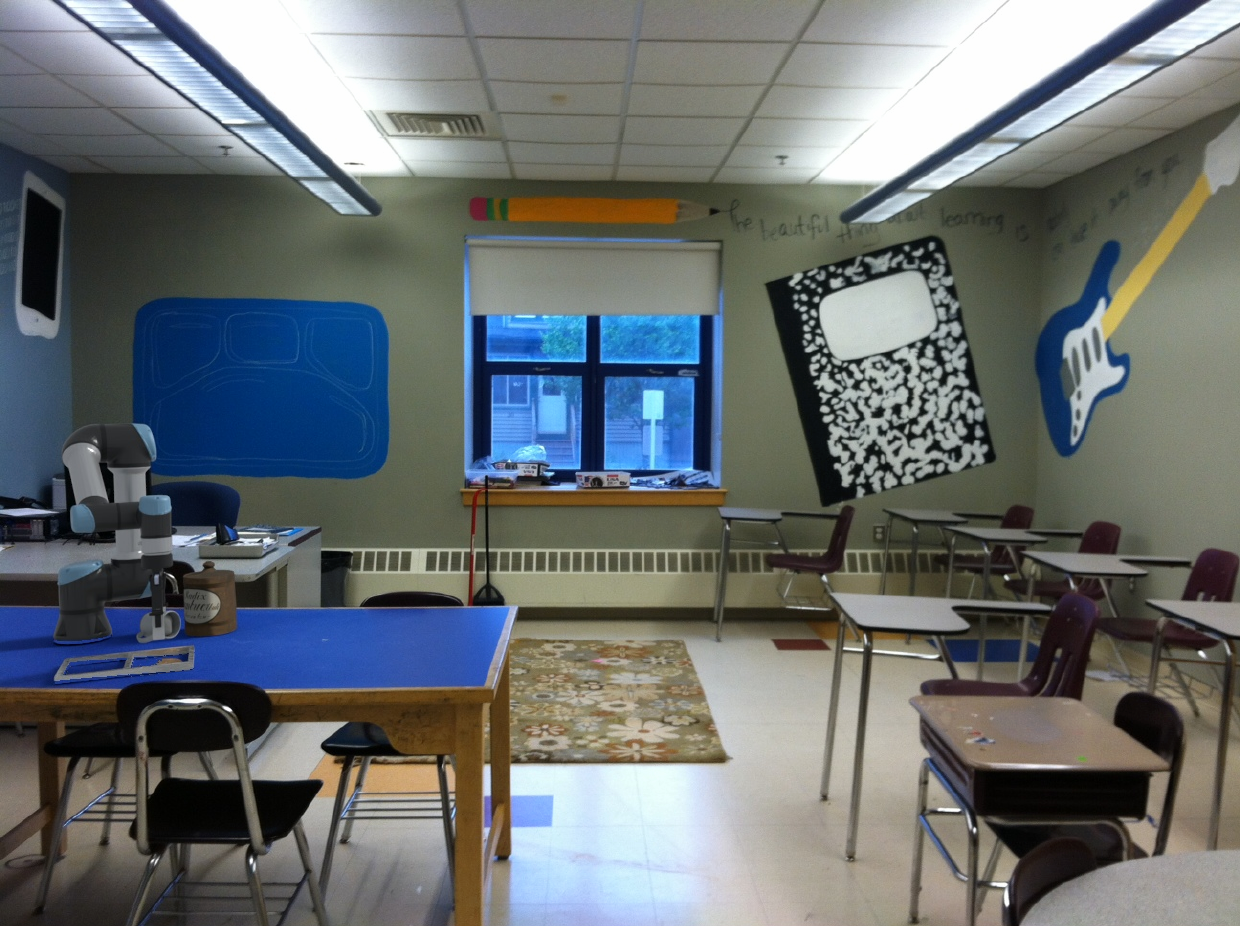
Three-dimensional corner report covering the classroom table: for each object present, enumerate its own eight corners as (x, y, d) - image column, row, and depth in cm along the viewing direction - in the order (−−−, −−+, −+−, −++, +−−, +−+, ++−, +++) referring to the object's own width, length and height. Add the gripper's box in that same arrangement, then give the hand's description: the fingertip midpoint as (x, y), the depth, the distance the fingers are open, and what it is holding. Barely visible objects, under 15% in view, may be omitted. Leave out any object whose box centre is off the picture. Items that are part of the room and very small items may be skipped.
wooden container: (173, 635, 271) (171, 564, 270) (208, 624, 285) (206, 556, 284) (214, 638, 267) (212, 566, 266) (247, 627, 281) (245, 558, 280)
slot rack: (65, 665, 238) (65, 658, 238) (194, 652, 251) (194, 645, 251) (54, 685, 221) (54, 677, 220) (193, 669, 234) (193, 661, 234)
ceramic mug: (158, 633, 243) (156, 607, 243) (182, 635, 241) (180, 608, 241) (128, 643, 233) (127, 615, 233) (153, 644, 231) (152, 616, 231)
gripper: (143, 549, 246) (146, 628, 247) (137, 559, 225) (141, 645, 226) (174, 547, 249) (176, 625, 250) (170, 557, 229) (173, 642, 230)
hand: (159, 635), depth 238 cm, fingers closed on ceramic mug, 10 cm apart
